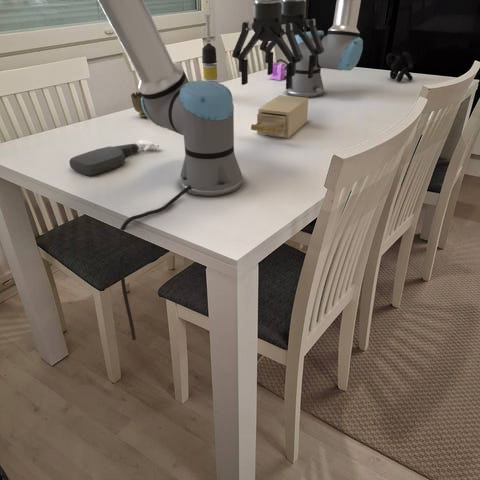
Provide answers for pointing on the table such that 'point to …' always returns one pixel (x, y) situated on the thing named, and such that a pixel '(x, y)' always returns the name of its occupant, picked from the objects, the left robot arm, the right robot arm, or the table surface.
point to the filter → (209, 57)
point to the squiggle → (399, 66)
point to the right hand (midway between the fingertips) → (289, 76)
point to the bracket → (281, 71)
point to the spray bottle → (106, 157)
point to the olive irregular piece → (138, 103)
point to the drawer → (270, 124)
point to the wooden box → (288, 111)
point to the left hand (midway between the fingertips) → (266, 86)
